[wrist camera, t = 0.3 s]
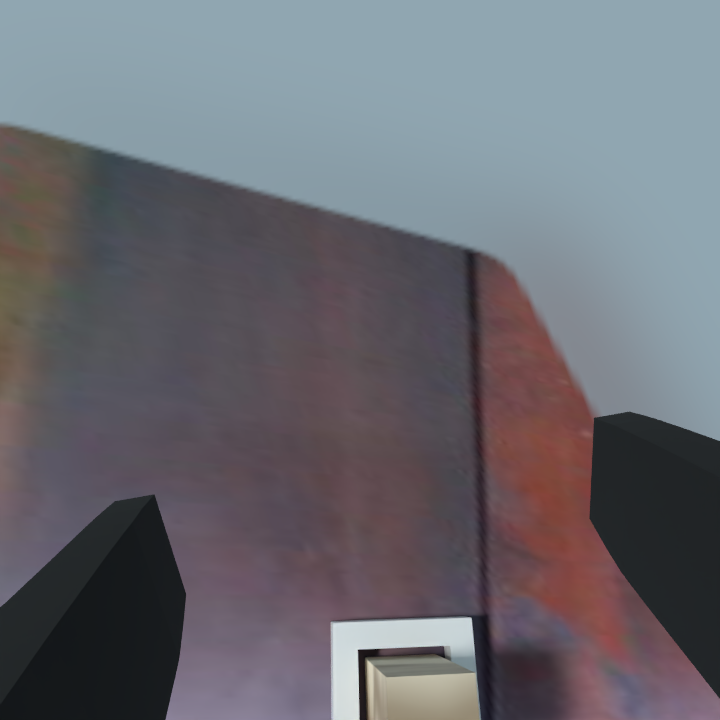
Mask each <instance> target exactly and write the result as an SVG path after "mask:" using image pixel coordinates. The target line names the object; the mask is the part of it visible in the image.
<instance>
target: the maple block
mask: <svg viewBox="0 0 720 720" xmlns="http://www.w3.org/2000/svg"><path fill="white" fill-rule="evenodd" d="M365 689H366V720H480V718H479V707H478V696H477V685H476V674H475V672H473V671H470V670H468V669H466V668H464V667H462V666H460V665H458V664H455V663H453V662H451V661H449V660H447V659H445V658H443V657H441V656H438V655H436V654H424V655H402V656H381V657H365Z"/></svg>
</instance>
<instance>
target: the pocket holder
mask: <svg viewBox="0 0 720 720" xmlns="http://www.w3.org/2000/svg"><path fill="white" fill-rule="evenodd" d="M427 646H444V652H445V659H447V660H449V661H451V662H453V663H455V664H458V665H460V666H462V667H464V668H466V669H468V670H470V671H473V672H475V674H476V685H477V696H478V707H479V718H480V720H481V715H480V704H479V693H478V682H477V671H476V661H475V650H474V639H473V628H472V618H471V617H466V616H458V617H431V618H404V619H377V620H351V621H331V720H359V677H358V650H359V649H382V648H405V647H427Z"/></svg>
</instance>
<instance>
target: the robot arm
mask: <svg viewBox="0 0 720 720" xmlns="http://www.w3.org/2000/svg"><path fill="white" fill-rule="evenodd" d="M590 520H591V522H592V524H593V525H594V527H595V529H596V531H597V532H598V534H599V536H600V538H601V539H602V541H603V543H604V545H605V546H606V548H607V550H608V551H609V553H610V555H611V556H612V558H613V559H614V561H615V563H616V564H617V566H618V568H619V569H620V571H621V572H622V574H623V575H624V576H625V578H626V579H627V580H628V582H629V583H630V584H631V586H632V587H633V588H634V590H635V591H636V592H637V593H638V595H639V596H640V597H641V599H642V600H643V601H644V602H645V604H646V605H647V606H648V608H649V609H650V610H651V612H652V613H653V614H654V615H655V617H656V618H657V619H658V621H659V622H660V623H661V624H662V626H663V627H664V628H665V629H666V631H667V632H668V633H669V635H670V636H671V637H672V638H673V640H674V641H675V642H676V643H677V645H678V646H679V647H680V648H681V650H682V651H683V652H684V654H685V655H686V656H687V657H688V659H689V660H690V661H691V662H692V664H693V665H694V666H695V668H696V669H697V670H698V671H699V673H700V674H701V675H702V676H703V678H704V679H705V680H706V682H707V683H708V684H709V685H710V687H711V688H712V689H713V691H714V692H715V693H716V694H717V696H718V697H719V698H720V441H717V440H715V439H712V438H709V437H706V436H703V435H701V434H698V433H695V432H692V431H690V430H687V429H684V428H681V427H678V426H675V425H672V424H669V423H666V422H663V421H660V420H657V419H654V418H650V417H647V416H644V415H640V414H636V413H632V412H625V413H620V414H614V415H609V416H602V417H597V418H594V433H593V455H592V477H591V499H590ZM185 600H186V593H185V589H184V586H183V583H182V580H181V577H180V574H179V571H178V567H177V564H176V561H175V558H174V555H173V552H172V548H171V545H170V542H169V539H168V536H167V533H166V530H165V526H164V523H163V520H162V517H161V514H160V511H159V508H158V504H157V501H156V498H155V495H149V496H143V497H138V498H132V499H126V500H120V501H115V502H114V503H113V504H111V505H110V506H109V507H108V508H106V509H105V510H104V511H103V512H102V513H101V514H100V515H98V516H97V517H96V518H95V519H94V520H93V521H92V522H91V523H90V524H89V525H88V526H86V527H85V528H84V529H83V530H82V531H81V532H80V533H79V534H78V535H77V536H76V537H75V538H74V539H73V540H72V541H71V542H70V543H69V544H68V545H66V546H65V547H64V548H63V549H62V550H61V551H60V552H59V553H58V554H57V555H56V556H55V557H54V558H53V559H52V560H51V561H50V562H49V563H47V564H46V565H45V566H44V567H43V568H42V569H41V570H40V571H39V572H38V573H37V574H36V575H35V576H34V577H33V578H32V579H30V580H29V581H28V582H27V583H26V584H25V585H24V586H23V587H22V588H21V589H20V590H19V591H18V592H17V593H16V594H15V595H13V596H12V597H11V598H10V599H9V600H8V601H7V602H6V603H5V604H4V605H3V606H1V607H0V720H165V719H166V715H167V710H168V706H169V702H170V697H171V693H172V688H173V684H174V680H175V675H176V671H177V666H178V662H179V656H180V648H181V639H182V631H183V621H184V611H185Z"/></svg>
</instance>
